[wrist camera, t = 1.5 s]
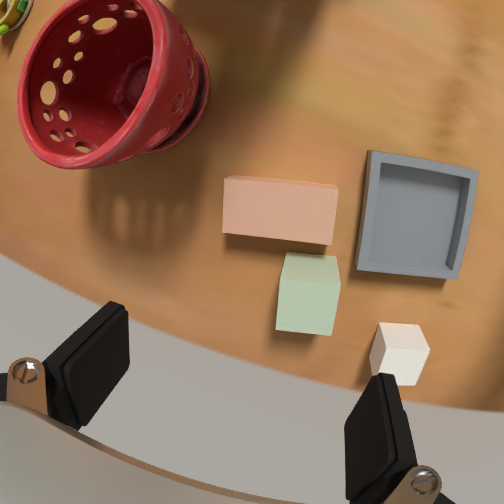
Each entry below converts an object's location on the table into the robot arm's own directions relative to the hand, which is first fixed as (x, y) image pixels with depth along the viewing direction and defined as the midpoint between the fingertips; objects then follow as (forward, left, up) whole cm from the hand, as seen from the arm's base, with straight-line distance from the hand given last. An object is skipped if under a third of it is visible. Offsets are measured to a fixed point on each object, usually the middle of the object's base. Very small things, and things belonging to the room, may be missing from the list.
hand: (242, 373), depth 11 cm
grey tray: (-11, -3, -19) cm, 22 cm away
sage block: (-2, +4, -19) cm, 19 cm away
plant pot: (+13, -13, -19) cm, 26 cm away
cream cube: (-12, +11, -19) cm, 25 cm away
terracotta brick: (+1, -2, -19) cm, 19 cm away
